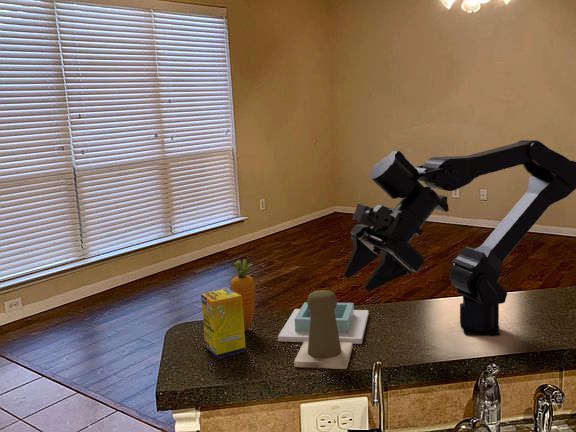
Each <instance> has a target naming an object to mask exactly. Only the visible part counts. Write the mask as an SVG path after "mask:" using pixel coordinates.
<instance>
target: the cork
mask: <svg viewBox="0 0 576 432" xmlns="http://www.w3.org/2000/svg"><path fill="white" fill-rule="evenodd" d="M306 302H307V304H308V308H309V309H310V310H311V317H310V329H309V342H308V354H309V355H310V356H312V357H315V358H321V359H325V358H333V357H336V356H338V355H340V353H341V345H340V340H339V334H338V328H337V323H336V317H335V312H334V310H335V308H336V305H337V303H338V299H337V295H336V294H335V293H334V292H333V291H331V290H327V289H320V290H315V291H312V292H310V293H309V295H308V296H307V300H306Z"/></svg>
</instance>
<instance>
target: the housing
mask: <svg viewBox="0 0 576 432" xmlns="http://www.w3.org/2000/svg"><path fill="white" fill-rule="evenodd" d="M354 306H355V305H354V302H337V305H336V308H335V310H334V312H335V317H336V323H337V328H338V334H339V340H340V342H344V343H352V345H355V344H356V345H362V344H363V339H364V336H365V333H366V327H367V323H368V320H369V319H368V318H369V315H370V314H369V309H355V308H354ZM310 317H311V310H310V309H309V308H308V304H307V301H305V302H304V303H303V304H302V306H301V307H300V308H294V310H293V311H292V313H291V315H290V316H289V318H288V320H287V321H286V323H285V324H284V326H283V327H282V329H281V330H280V332H279V334H278V335H277V340H278V342H291V343H303V342H304V341H309V329H310Z"/></svg>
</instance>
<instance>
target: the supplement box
mask: <svg viewBox="0 0 576 432" xmlns="http://www.w3.org/2000/svg"><path fill="white" fill-rule="evenodd" d="M200 299H201V301H200V302H201V307H202V308H201V309H202V311H201V312H202V321H203V322H202V323H203V334H204V335H203V336H204V346H205V350H208V351H209V353H211V354H212V355H213V356H214V357H215V358H216V359H223V358H225V357H228V356H232V355H233V356H234V355H235V354H236V355H238V354H241V353H243V352H244V353H245V352H246V351H247V348H246V335H245V334H246V333H245V330H244V318H243V303H242V296H241V295H239V294H237V293H235V292H234V291H232V290H231V288H229V287H228V288H227V287H226V288H222V289H218V290H214V291H207V292H203V293H201V294H200Z"/></svg>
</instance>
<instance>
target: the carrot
mask: <svg viewBox="0 0 576 432" xmlns="http://www.w3.org/2000/svg"><path fill="white" fill-rule="evenodd" d="M242 261H243V262H242ZM242 261H241V260H237V261H236V262H235V263H234V264H233V265H234V267H235V268H236V273H237V276H234V277H233V278H231V279H230V283H229V285H230V286H229V287H230V289H231V290H232V291H234V292H235V293H237V294H239V295H241V296H242V303H243V318H244V332H245V331H246V330H247V331H248V330H249V329H250V326H251V324H252V322H253V318H254V313H255V308H256V307H255V306H256V284H255V283H256V281H255V279H254V278H253V277H251V276H250V275H247V273H248V271H250V269H252V267H254V264H253V263H249V264H248V265H247V261H248V260H247V259H243V260H242ZM247 331H246V332H247Z"/></svg>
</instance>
